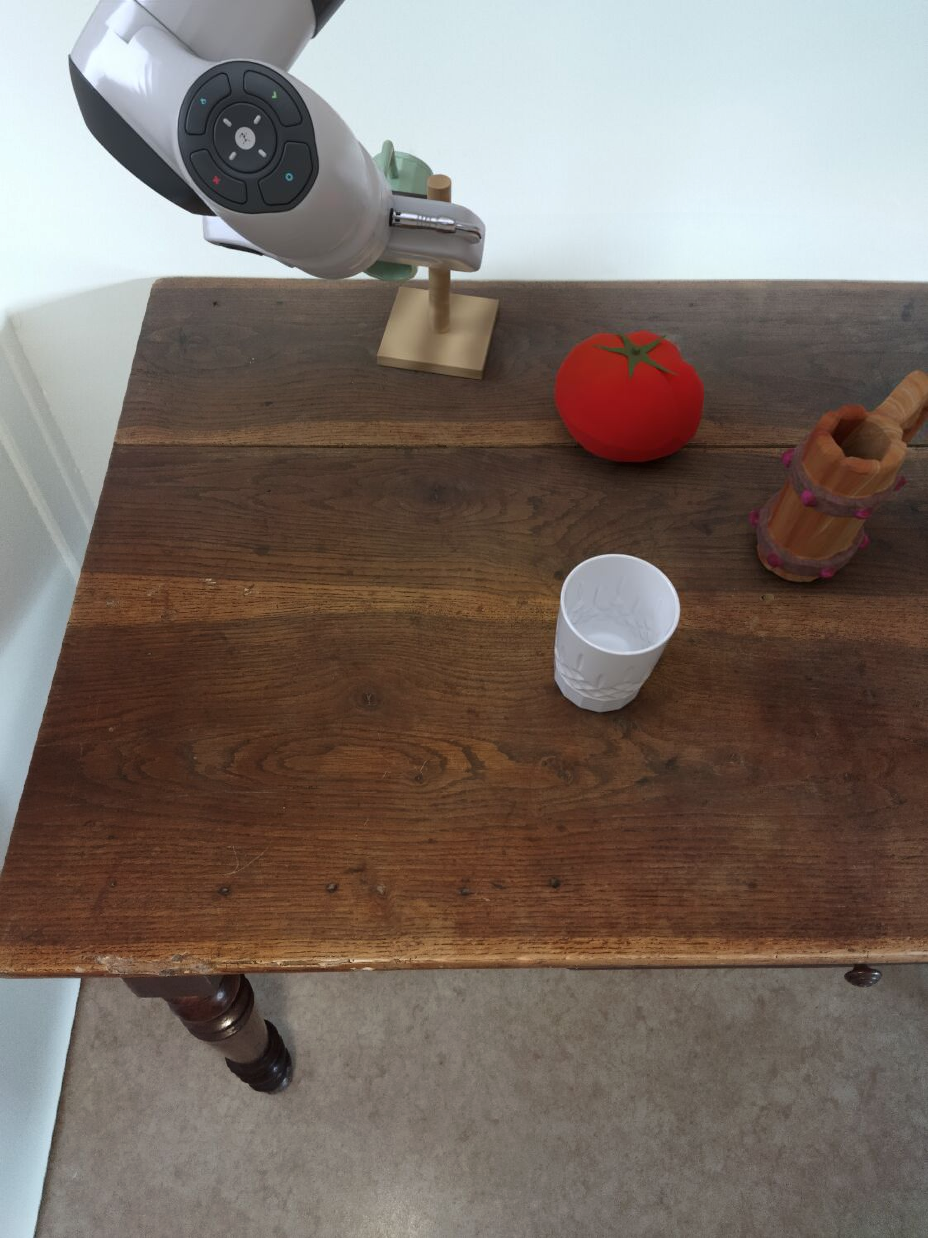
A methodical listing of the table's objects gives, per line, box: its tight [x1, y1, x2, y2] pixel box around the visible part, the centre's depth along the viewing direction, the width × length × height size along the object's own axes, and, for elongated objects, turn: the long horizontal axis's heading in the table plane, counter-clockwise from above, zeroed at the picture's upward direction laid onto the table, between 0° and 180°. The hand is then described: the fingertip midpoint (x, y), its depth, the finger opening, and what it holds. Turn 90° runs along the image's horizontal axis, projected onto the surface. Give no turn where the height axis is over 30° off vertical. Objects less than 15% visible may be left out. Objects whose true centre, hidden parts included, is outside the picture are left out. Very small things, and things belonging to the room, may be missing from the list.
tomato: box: [554, 327, 705, 463], centre depth 75 cm, size 11×13×10 cm
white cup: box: [553, 553, 681, 713], centre depth 63 cm, size 8×8×10 cm
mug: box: [748, 369, 928, 583], centre depth 67 cm, size 15×8×15 cm, turn 131°
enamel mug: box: [362, 139, 435, 283], centre depth 78 cm, size 10×6×9 cm
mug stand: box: [376, 173, 500, 380], centre depth 79 cm, size 15×10×16 cm, turn 80°
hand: (369, 244), depth 73 cm, fingers open, 8 cm apart
